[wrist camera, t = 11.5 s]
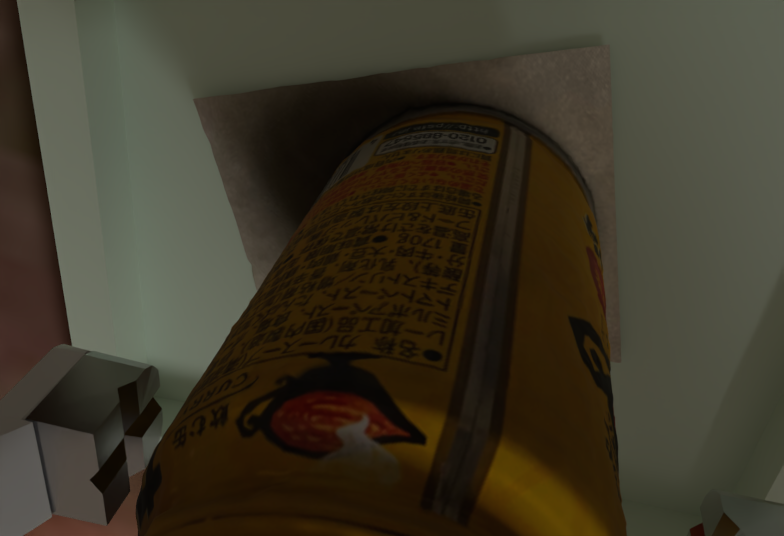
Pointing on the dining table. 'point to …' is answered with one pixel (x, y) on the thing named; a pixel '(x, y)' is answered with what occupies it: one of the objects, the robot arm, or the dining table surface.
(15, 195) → the dining table surface
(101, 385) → the robot arm
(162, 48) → the tray
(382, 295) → the condiment
